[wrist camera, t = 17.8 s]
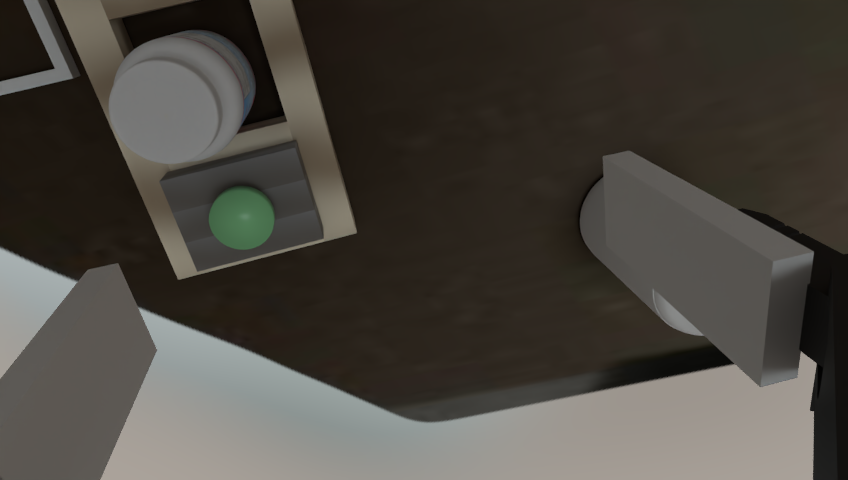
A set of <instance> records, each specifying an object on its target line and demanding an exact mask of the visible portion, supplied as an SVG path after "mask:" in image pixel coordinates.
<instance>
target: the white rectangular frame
mask: <svg viewBox="0 0 848 480" xmlns="http://www.w3.org/2000/svg"><path fill="white" fill-rule="evenodd" d="M23 1H24V3H25V5H26V7H27V9H28V11H29V14H30V16H31V18H32V20H33V22H34V24H35V27H36V29H37V31H38V33H39V35H40V37H41V39H42V42H43V44H44V46H45V48H46V50H47V52H48V55H49V57H50V59H51V61H52V63H53V65H54V68H55V69H51V70H47V71H42V72H38V73H34V74H30V75H25V76H21V77H17V78H13V79H8V80H4V81H0V95H4V94H8V93H13V92H17V91H21V90H25V89H30V88H34V87H38V86H42V85H47V84H51V83H55V82H59V81H64V80H68V79H72V78H75V77H78V76H81V75H80V73H79V71H78V68H77V66H76V64H75V62H74V60H73V57H72V55H71V53H70V51H69V48H68V46H67V44H66V42H65V39H64V37H63V35H62V33H61V30H60V28H59V26H58V24H57V22H56V19H55V17H54V15H53V13H52V10H51V8H50V6H49V4H48V1H47V0H23Z"/></svg>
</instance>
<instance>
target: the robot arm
mask: <svg viewBox="0 0 848 480" xmlns="http://www.w3.org/2000/svg"><path fill="white" fill-rule="evenodd" d="M603 174H604V200H605V226H606V246H607V247H609V248H610V249H611V250H612V251H613V252H614V253H615V254H616V255H617V256H618V257H619V258H620V259H622V260H623V261H624V262H625V263H626V264H627V265H628V266H629V267H630V268H631V269H632V270H634V271H635V272H636V273H637V274H638V275H639V276H640V277H641V278H642V279H643V280H644V281H645V282H647V283H648V284H649V285H650V286H651V287H652V288H653V289H654V290H655V291H656V292H657V293H659V294H660V295H661V296H662V297H663V298H664V299H665V300H666V301H667V302H668V303H669V304H670V305H672V306H673V307H674V308H675V309H676V310H677V311H678V312H679V313H680V314H681V315H682V316H684V317H685V318H686V319H687V320H688V321H689V322H690V323H691V324H692V325H693V326H694V327H695V328H697V329H698V330H699V331H700V332H701V333H702V334H703V335H704V336H705V337H706V338H707V339H709V340H710V341H711V342H712V343H713V344H714V345H715V346H716V347H717V348H718V349H719V350H720V351H722V352H723V353H724V354H725V355H726V356H727V357H728V358H729V359H730V360H731V361H732V362H734V363H735V364H736V365H737V366H738V367H739V368H740V369H741V370H743V372H744V373H745V374H747V375H748V376H749V377H750V378H751V379H752V380H753V381H754V382H755V383H756V384H758V385H759V386H760V387H763V386H767V385H770V384H774V383H778V382H782V381H786V380H790V379H794V378H797V375H798V368H799V360H800V353H801V351H802V352H803V353H804V354H805V355H807V356H808V357H810V358H811V359H812V360H813V361H815V362H816V363H817V367H816V374H815V380H814V387H813V393H812V400H811V407H810V411H814V461H813V465H814V466H813V480H848V254H844V255H843V254H841V253H840V252H838V251H836V250H834V249H832V248H830V247H828V246H826V245H824V244H822V243H820V242H818V241H817V240H815V239H813V238H811V237H809V236H807V235H805V234H803V233H802V234H800V233H799V231H797V230H795V229H794V228H792V227H790V226H785V224H784V223H782V222H780V221H778V220H776V219H774V218H772V217H770V216H769V215H767V214H763V213H759V212H755V211H751V210H747V209H743V208H742V209H738V210H737V209H735V208H733V207H731V206H730V205H728V204H726V203H724V202H722V201H720V200H719V199H717V198H715V197H713V196H711V195H709V194H708V193H706V192H704V191H702V190H700V189H699V188H697V187H695V186H693V185H691V184H689V183H688V182H686V181H684V180H682V179H680V178H678V177H677V176H675V175H673V174H671V173H669V172H667V171H666V170H664V169H662V168H660V167H658V166H656V165H655V164H653V163H651V162H649V161H647V160H645V159H644V158H642V157H640V156H638V155H636V154H634V153H633V152H631V151H625V152H621V153H616V154H612V155H607V156H603ZM156 351H157V349H156V347H155V345H154V343H153V340H152V338H151V336H150V334H149V331H148V329H147V327H146V325H145V323H144V320H143V318H142V316H141V314H140V311H139V309H138V307H137V305H136V302H135V300H134V298H133V296H132V293H131V291H130V289H129V287H128V285H127V282H126V280H125V278H124V276H123V273H122V271H121V269H120V267H119V264H118V263H117V264H112V265H108V266H103V267H99V268H94V269H89V270H87V271H86V273H85V274H84V275H83V276H82V278H81V279H80V280H79V281H78V283H77V284H76V285H75V286H74V288H73V289H72V290H71V291H70V293H69V294H68V295H67V296H66V298H65V299H64V300H63V301H62V303H61V304H60V305H59V306H58V308H57V309H56V310H55V311H54V313H53V314H52V315H51V316H50V318H49V319H48V320H47V321H46V323H45V324H44V325H43V326H42V328H41V329H40V330H39V331H38V333H37V334H36V335H35V336H34V338H33V339H32V340H31V341H30V343H29V344H28V345H27V346H26V348H25V349H24V350H23V352H22V353H21V354H20V355H19V357H18V358H17V359H16V360H15V361H14V363H13V364H12V365H11V366H10V368H9V369H8V370H7V371H6V373H5V374H4V375H3V377H2V378H1V379H0V480H100V479H101V477H102V474H103V472H104V470H105V467H106V465H107V462H108V461H109V458H110V456H111V454H112V451H113V449H114V447H115V445H116V442H117V440H118V438H119V435H120V433H121V431H122V429H123V426H124V424H125V422H126V419H127V417H128V415H129V413H130V410H131V408H132V406H133V403H134V401H135V399H136V397H137V394H138V392H139V390H140V387H141V385H142V383H143V380H144V378H145V376H146V374H147V371H148V369H149V367H150V365H151V362H152V360H153V358H154V355H155V353H156Z"/></svg>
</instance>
